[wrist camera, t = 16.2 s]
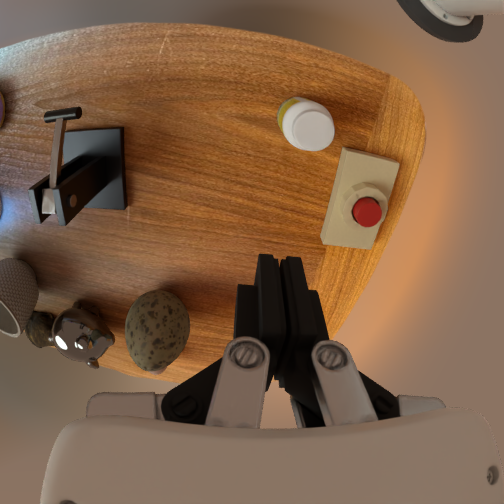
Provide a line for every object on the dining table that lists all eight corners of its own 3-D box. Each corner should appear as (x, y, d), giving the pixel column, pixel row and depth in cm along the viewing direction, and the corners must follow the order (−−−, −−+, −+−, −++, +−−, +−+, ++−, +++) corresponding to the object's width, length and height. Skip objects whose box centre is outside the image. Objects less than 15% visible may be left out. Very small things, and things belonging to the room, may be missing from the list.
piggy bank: (126, 336, 56) (112, 379, 47) (71, 324, 55) (52, 362, 46) (116, 301, 50) (96, 347, 41) (56, 289, 49) (32, 329, 40)
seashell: (33, 332, 58) (20, 347, 52) (22, 304, 55) (7, 318, 48) (75, 341, 58) (62, 358, 51) (64, 310, 55) (48, 326, 48)
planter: (-4, 244, 42) (-36, 281, 32) (35, 247, 43) (-1, 290, 32) (17, 292, 50) (-8, 330, 40) (57, 299, 51) (31, 344, 40)
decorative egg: (162, 324, 54) (145, 389, 41) (126, 287, 48) (98, 353, 36) (206, 309, 51) (196, 380, 39) (171, 267, 45) (147, 339, 33)
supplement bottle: (278, 138, 34) (287, 159, 26) (274, 97, 31) (283, 103, 23) (319, 136, 34) (341, 157, 26) (318, 96, 31) (341, 103, 23)
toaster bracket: (65, 130, 32) (9, 159, 21) (123, 126, 32) (73, 153, 22) (74, 203, 38) (29, 248, 28) (127, 206, 39) (89, 256, 28)
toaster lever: (53, 113, 25) (42, 109, 22) (85, 108, 25) (74, 104, 23) (45, 210, 28) (33, 212, 25) (75, 211, 28) (64, 214, 26)
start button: (356, 195, 34) (361, 200, 33) (380, 199, 35) (385, 205, 33) (349, 219, 36) (353, 225, 35) (372, 222, 37) (377, 229, 35)
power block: (342, 146, 34) (351, 154, 31) (393, 158, 35) (406, 168, 32) (319, 236, 42) (325, 251, 39) (366, 242, 43) (375, 256, 39)
